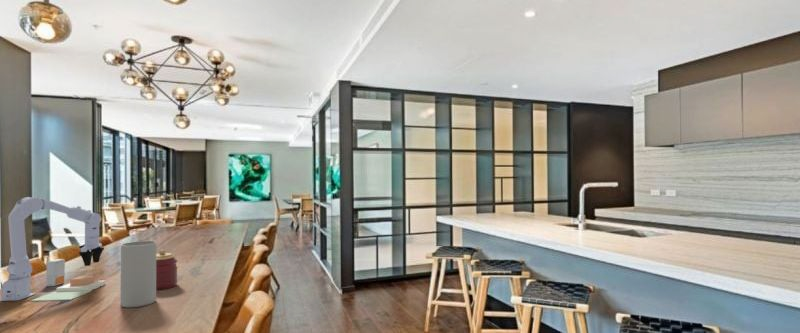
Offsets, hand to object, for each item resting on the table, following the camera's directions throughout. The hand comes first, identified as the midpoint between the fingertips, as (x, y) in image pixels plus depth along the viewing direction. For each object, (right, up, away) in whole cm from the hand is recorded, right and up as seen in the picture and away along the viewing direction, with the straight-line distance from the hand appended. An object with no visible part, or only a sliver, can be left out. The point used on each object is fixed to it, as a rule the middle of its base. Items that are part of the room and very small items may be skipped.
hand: (91, 263), depth 202 cm
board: (+3, -9, -10) cm, 14 cm away
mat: (+4, -9, -22) cm, 24 cm away
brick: (+2, -7, -9) cm, 12 cm away
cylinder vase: (+45, -9, -33) cm, 56 cm away
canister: (+39, -9, -7) cm, 41 cm away
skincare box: (-16, -10, -2) cm, 19 cm away
